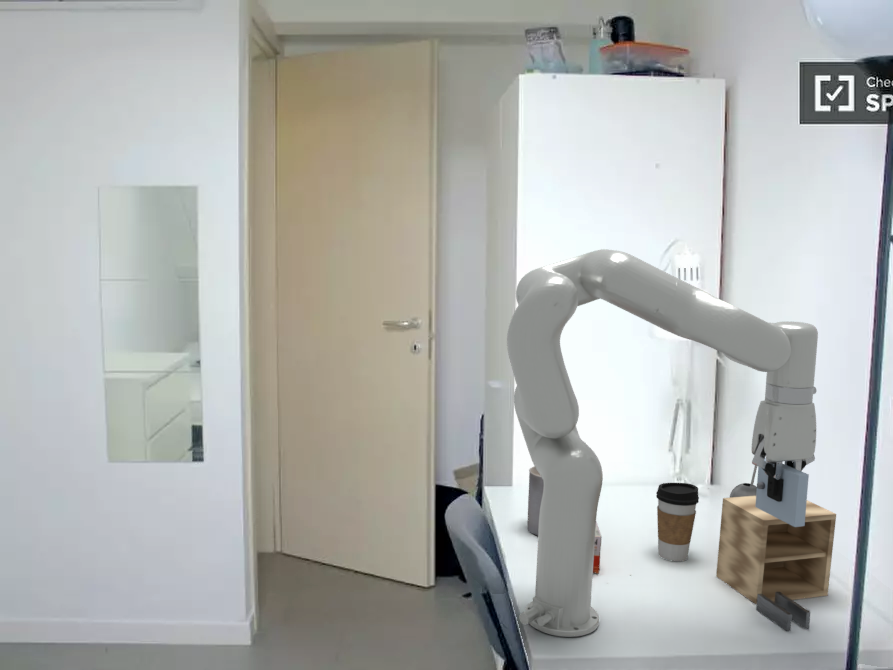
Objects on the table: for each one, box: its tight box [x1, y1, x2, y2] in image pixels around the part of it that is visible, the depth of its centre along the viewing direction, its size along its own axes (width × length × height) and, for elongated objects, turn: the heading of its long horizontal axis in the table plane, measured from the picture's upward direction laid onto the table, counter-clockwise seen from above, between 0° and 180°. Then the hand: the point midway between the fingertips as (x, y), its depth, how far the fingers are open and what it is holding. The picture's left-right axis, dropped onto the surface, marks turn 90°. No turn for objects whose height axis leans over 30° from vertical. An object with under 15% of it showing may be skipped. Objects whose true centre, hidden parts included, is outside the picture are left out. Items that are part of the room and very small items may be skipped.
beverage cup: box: [729, 465, 758, 498], centre depth 170 cm, size 7×7×20 cm
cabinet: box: [715, 496, 837, 605], centre depth 156 cm, size 12×16×16 cm
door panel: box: [755, 457, 810, 527], centre depth 141 cm, size 10×3×9 cm, turn 18°
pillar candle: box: [526, 465, 544, 536], centre depth 180 cm, size 10×10×15 cm
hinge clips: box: [755, 592, 812, 632], centre depth 144 cm, size 8×5×3 cm, turn 17°
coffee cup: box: [655, 482, 700, 562], centre depth 169 cm, size 8×8×15 cm
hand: (780, 497), depth 142 cm, fingers closed on door panel, 2 cm apart
